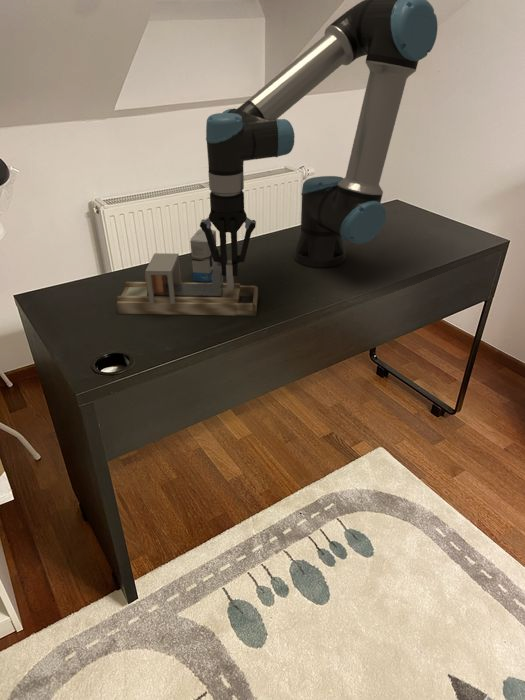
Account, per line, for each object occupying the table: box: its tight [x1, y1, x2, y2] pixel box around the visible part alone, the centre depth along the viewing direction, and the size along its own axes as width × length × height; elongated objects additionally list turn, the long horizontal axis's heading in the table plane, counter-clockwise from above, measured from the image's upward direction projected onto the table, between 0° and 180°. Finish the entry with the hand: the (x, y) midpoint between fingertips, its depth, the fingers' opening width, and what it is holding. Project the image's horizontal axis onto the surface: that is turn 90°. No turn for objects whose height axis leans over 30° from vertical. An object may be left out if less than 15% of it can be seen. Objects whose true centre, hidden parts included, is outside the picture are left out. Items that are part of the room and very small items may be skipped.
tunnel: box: [144, 252, 182, 304], centre depth 127 cm, size 6×10×8 cm, turn 178°
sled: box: [144, 265, 224, 297], centre depth 128 cm, size 18×6×6 cm, turn 88°
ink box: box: [190, 228, 218, 283], centre depth 142 cm, size 8×5×12 cm, turn 168°
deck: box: [116, 281, 259, 317], centre depth 130 cm, size 34×10×4 cm, turn 88°
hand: (230, 287), depth 128 cm, fingers closed
